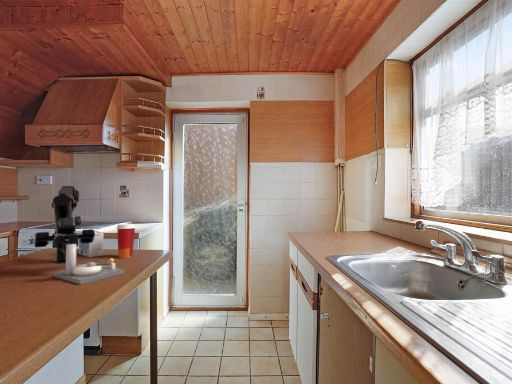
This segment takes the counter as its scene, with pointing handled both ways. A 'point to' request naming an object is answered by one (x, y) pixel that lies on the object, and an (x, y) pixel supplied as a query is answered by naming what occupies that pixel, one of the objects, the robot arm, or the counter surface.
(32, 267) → the counter surface
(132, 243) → the coffee cup
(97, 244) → the light bulb box
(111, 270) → the stand
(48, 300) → the counter surface
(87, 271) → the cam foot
